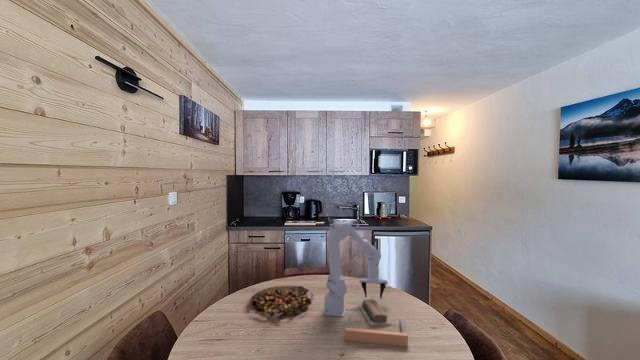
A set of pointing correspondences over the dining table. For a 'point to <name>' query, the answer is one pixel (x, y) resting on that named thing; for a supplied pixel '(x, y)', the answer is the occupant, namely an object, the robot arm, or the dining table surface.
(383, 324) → the packaged product
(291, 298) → the food dish
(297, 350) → the dining table surface
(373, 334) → the channel
